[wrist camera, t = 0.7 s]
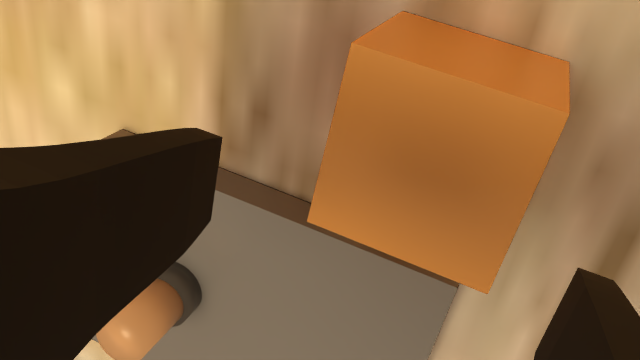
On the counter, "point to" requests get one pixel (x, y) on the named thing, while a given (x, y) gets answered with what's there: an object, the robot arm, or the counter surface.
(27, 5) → the counter surface
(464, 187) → the solid orange cube
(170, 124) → the counter surface
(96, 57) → the counter surface
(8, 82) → the counter surface
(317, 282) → the grey flat block
